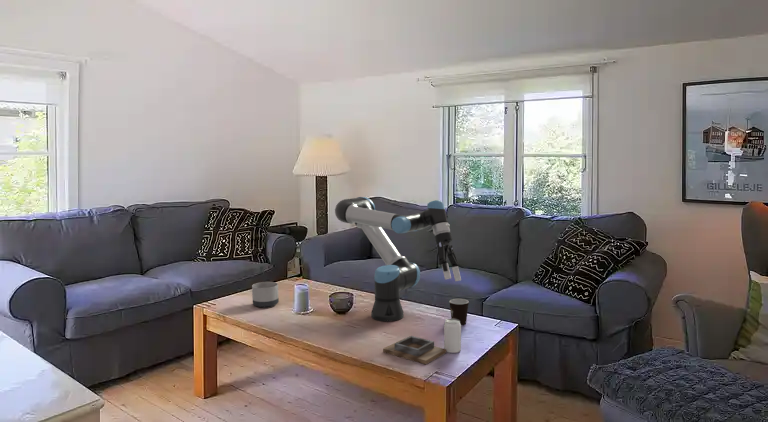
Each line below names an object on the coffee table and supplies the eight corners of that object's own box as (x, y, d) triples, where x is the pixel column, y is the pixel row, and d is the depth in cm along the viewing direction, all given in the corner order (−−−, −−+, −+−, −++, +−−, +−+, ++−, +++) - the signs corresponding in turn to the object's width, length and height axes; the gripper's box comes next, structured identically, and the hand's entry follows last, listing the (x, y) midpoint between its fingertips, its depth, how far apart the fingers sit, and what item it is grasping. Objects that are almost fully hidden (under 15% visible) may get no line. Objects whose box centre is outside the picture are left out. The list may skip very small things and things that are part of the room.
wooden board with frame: (383, 352, 214) (382, 342, 214) (404, 341, 225) (404, 332, 225) (425, 364, 202) (425, 354, 202) (446, 352, 213) (446, 343, 212)
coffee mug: (468, 326, 243) (468, 304, 242) (448, 325, 245) (448, 303, 243) (469, 318, 254) (469, 297, 253) (450, 317, 256) (450, 296, 255)
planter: (275, 308, 273) (275, 288, 271) (249, 309, 273) (249, 288, 271) (281, 301, 285) (280, 281, 284) (256, 301, 285) (255, 281, 284)
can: (449, 346, 220) (449, 317, 218) (463, 349, 216) (463, 320, 215) (441, 351, 215) (441, 321, 213) (456, 354, 211) (456, 324, 209)
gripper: (440, 227, 236) (452, 275, 230) (458, 235, 258) (469, 279, 252) (424, 232, 239) (435, 280, 233) (444, 239, 261) (454, 283, 255)
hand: (453, 279), depth 242 cm, fingers open, 13 cm apart
